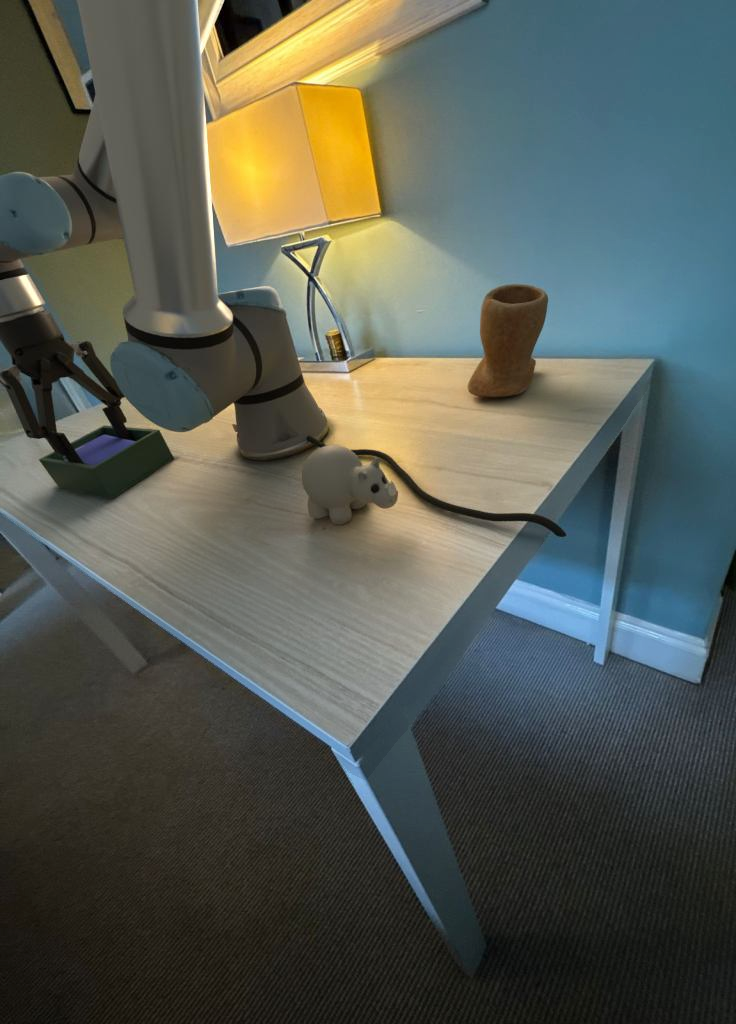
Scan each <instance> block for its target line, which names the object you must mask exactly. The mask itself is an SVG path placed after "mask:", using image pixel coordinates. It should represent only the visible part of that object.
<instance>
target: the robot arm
mask: <svg viewBox="0 0 736 1024" xmlns="http://www.w3.org/2000/svg"><path fill="white" fill-rule="evenodd" d="M76 1H77V5H78V11H79V17H80V20H81V21H80V22H81V27H82V31H83V37H84V41H85V46H86V51H87V56H88V63H89V68H90V72H91V78H92V83H93V88H94V92H95V94H94V98H93V103H92V106H91V109H90V113H89V117H88V121H87V124H86V128H85V132H84V134H83V137H82V138H83V139H82V142H81V146H80V148H79V153H78V156H77V159H76V162H75V167H74V170H73V172H72V173H71V174H65V175H64V174H63V175H53V176H38V177H37V176H35V175H33V174H30V173H29V172H25V171H24V172H23V171H13V172H9V173H6V174H0V342H1V344H2V346H3V347H4V348H5V350H6V352H7V353H8V354H9V356H10V357H11V364H12V365H10V366H9V367H7V368H5V369H3V370H0V384H1V385H2V386H3V387H4V388H5V390H6V392H7V395H8V397H9V399H10V402H11V403H12V407H13V408H14V410H15V412H16V415H17V417H18V419H19V421H20V424H21V426H22V428H23V430H24V433H25V435H26V436H27V437H28V438H29V439H36V440H40V439H45V440H46V441H47V443H48V444H49V446H50V447H51V449H52V450H53V452H54V451H55V453H56V454H58V455H59V456H65V457H66V458H67V460H68V461H69V462H74V463H80V464H84V463H83V462H82V460H81V459H80V457H79V456H78V454H77V453H76V451H75V449H74V448H73V446H72V445H71V442H70V440H69V438H68V437H67V435H66V434H65V433H64V432H58V429H57V422H56V416H55V414H56V413H55V407H54V401H53V394H52V391H53V383H56V382H59V380H60V379H63V378H64V379H65V378H69V379H71V380H72V381H74V382H75V383H77V384H78V385H79V386H80V387H81V388H83V389H84V390H85V391H87V392H88V393H89V394H91V396H93V397H94V398H96V399H97V400H98V401H100V402H101V403H102V404H103V405H105V407H103V408H101V410H102V412H103V413H104V415H105V417H106V418H107V420H108V422H109V424H110V426H112V427H113V429H114V431H115V432H116V434H117V436H118V437H119V438H122V439H127V440H131V441H133V439H132V437H131V435H130V434H129V432H128V430H127V428H126V427H127V426H126V425H125V424H126V423H128V422H127V421H128V420H127V417H126V415H125V413H124V412H123V410H122V408H121V405H122V401H121V400H122V399H124V398H125V399H126V400H127V401H128V403H130V405H131V406H132V407H133V408H135V410H136V411H137V412H138V413H140V414H141V415H142V416H143V417H144V418H146V419H147V420H148V421H149V422H151V423H152V424H154V425H156V426H158V427H160V428H162V429H164V430H167V431H170V432H173V433H174V432H175V433H186V432H191V431H193V430H194V429H196V428H198V427H200V426H202V425H204V424H207V423H209V422H211V420H213V419H214V417H215V416H217V415H218V414H220V413H222V412H223V411H224V410H226V409H227V408H228V407H231V405H233V406H234V413H235V424H234V423H231V425H232V428H233V430H234V432H235V433H236V443H237V445H238V446H237V447H238V448H239V452H240V453H241V455H242V456H243V457H245V458H246V459H249V460H254V461H272V460H273V461H274V460H278V459H283V458H287V457H291V456H294V455H296V454H297V455H298V454H299V453H302V452H304V451H306V450H308V449H310V448H312V447H314V446H315V447H318V448H321V447H324V446H327V445H326V443H324V442H322V441H321V440H323V439H324V438H325V437H326V435H327V434H328V432H329V429H330V427H329V422H328V419H327V418H328V417H327V416H326V414H325V412H324V411H323V409H322V408H321V407H319V405H318V403H317V401H316V400H315V397H313V394H312V393H311V391H310V390H309V388H308V386H307V384H306V382H305V379H304V375H303V372H302V367H301V364H300V360H299V357H298V353H297V350H296V346H295V343H294V339H293V337H292V332H291V329H290V326H289V323H288V318H287V312H286V309H284V306H283V303H282V301H281V297H280V295H279V293H278V291H277V290H276V289H275V288H273V287H272V286H268V285H262V286H257V287H250V288H244V289H239V290H232V291H226V292H218V275H217V261H216V246H215V234H214V233H215V232H214V219H213V205H212V203H213V202H212V190H211V176H210V160H209V146H208V132H207V131H208V129H207V117H206V103H205V101H206V100H205V88H204V87H205V86H204V75H203V74H204V72H203V57H202V56H203V55H202V54H203V52H204V50H205V47H206V45H207V43H208V40H209V38H210V35H211V33H212V31H213V28H214V26H215V23H216V21H217V19H218V17H219V14H220V11H221V10H222V7H223V4H224V2H225V0H76ZM113 240H114V241H115V240H123V241H124V242H123V243H124V248H125V252H126V257H127V262H128V267H129V272H130V278H131V282H132V283H131V284H132V288H133V296H131V297H130V299H129V300H128V301H127V302H126V303H125V304H124V305H123V307H122V316H123V321H124V325H125V330H126V335H127V341H121V342H119V343H118V344H117V346H116V347H115V348H114V350H113V351H112V352H111V353H110V357H109V366H110V371H111V372H110V371H109V370H108V369H107V368H106V366H105V365H104V364H103V363H102V361H101V360H100V358H98V356H97V354H96V351H95V349H94V347H93V344H92V343H91V342H90V341H88V340H82V341H81V340H80V341H77V342H76V343H71V342H69V341H68V340H67V339H66V338H65V337H64V334H63V331H62V330H61V328H60V326H59V324H58V322H57V321H56V319H55V317H54V315H53V314H52V312H51V311H49V310H48V309H44V306H45V305H46V302H45V300H44V298H43V297H42V295H41V293H40V292H39V290H38V288H37V286H36V284H35V283H34V281H33V279H32V278H31V276H30V275H29V272H28V271H27V269H26V268H25V266H24V264H23V262H22V259H28V258H31V257H36V256H43V255H44V254H48V253H49V254H50V253H55V252H59V251H64V250H68V249H72V248H73V249H74V248H78V247H83V246H88V245H92V244H96V243H97V244H98V243H102V242H107V241H113ZM75 355H76V356H77V357H79V358H81V361H82V362H83V363H84V364H85V366H86V367H87V368H88V369H89V370H90V372H91V373H92V374H93V375H94V377H95V378H96V379H97V380H98V381H99V383H100V384H101V385H102V386H103V387H102V386H101V385H100V384H99V383H98V382H96V381H95V380H94V379H92V377H90V376H89V375H87V374H86V373H85V371H84V370H83V369H82V368H81V367H79V366H78V365H77V364H76V363H75V361H74V358H75ZM20 373H21V374H22V375H24V376H26V377H28V378H30V382H31V383H30V384H31V388H32V390H33V393H34V399H35V405H36V411H37V416H36V414H35V411H34V409H33V407H32V405H31V403H30V400H29V398H28V395H27V393H26V390H25V387H23V385H22V383H21V381H22V378H21V376H20ZM350 450H351V451H352V452H354V453H355V454H356V455H357V456H372V457H375V458H376V457H378V458H379V459H381V460H383V461H385V463H387V464H388V465H389V466H390V468H392V470H394V472H395V473H396V474H397V475H398V476H399V477H400V478H402V480H403V481H404V482H405V483H406V484H407V486H408V487H409V488H410V489H411V490H412V491H413V493H414V494H415V495H417V496H418V498H420V499H422V500H423V501H425V502H426V503H428V504H430V505H431V506H434V507H436V508H438V509H441V510H443V511H447V512H450V513H453V514H457V515H461V516H465V517H469V518H474V519H478V520H483V521H488V522H527V523H533V524H536V525H540V526H542V527H544V528H546V529H548V530H549V531H550V532H552V533H553V534H554V535H555V536H556V537H558V538H564V537H566V536H567V533H566V531H565V530H564V529H562V528H561V526H560V525H558V524H557V523H556V522H554V521H553V520H551V519H550V518H547V517H545V516H543V515H539V514H536V513H529V512H509V513H507V512H506V513H498V512H497V513H496V512H487V511H482V510H477V509H473V508H468V507H464V506H460V505H456V504H452V503H449V502H446V501H444V500H442V499H439V498H436V497H434V496H432V495H431V494H429V493H427V492H426V491H424V490H423V489H422V488H421V487H420V486H419V485H418V483H416V482H415V481H414V480H413V478H412V477H411V475H409V473H407V472H406V471H405V470H404V469H403V468H402V467H401V466H400V465H399V464H398V463H397V462H396V461H395V460H394V459H393V458H392V457H391V456H389V454H387V453H384V452H382V451H379V450H376V449H369V448H368V449H367V448H362V449H361V448H359V449H350Z"/></svg>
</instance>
